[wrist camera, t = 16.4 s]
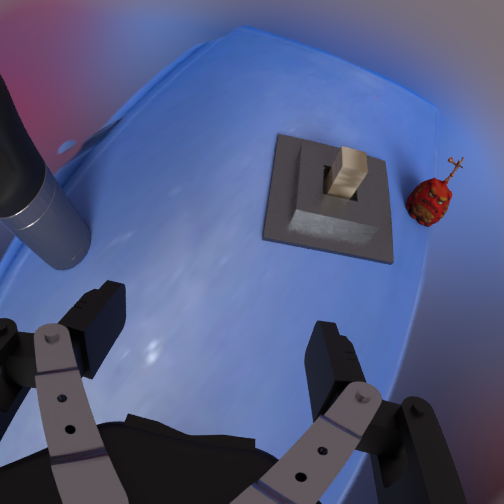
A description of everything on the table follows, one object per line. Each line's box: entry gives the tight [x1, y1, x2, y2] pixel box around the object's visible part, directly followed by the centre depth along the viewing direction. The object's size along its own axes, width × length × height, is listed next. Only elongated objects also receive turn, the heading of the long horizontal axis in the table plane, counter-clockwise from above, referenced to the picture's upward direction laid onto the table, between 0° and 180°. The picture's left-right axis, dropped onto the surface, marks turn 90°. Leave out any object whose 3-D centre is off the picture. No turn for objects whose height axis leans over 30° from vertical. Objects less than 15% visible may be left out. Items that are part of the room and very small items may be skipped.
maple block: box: [324, 146, 368, 200], centre depth 48 cm, size 4×4×10 cm
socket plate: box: [263, 134, 394, 265], centre depth 51 cm, size 22×22×4 cm
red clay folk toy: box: [406, 157, 464, 227], centre depth 48 cm, size 8×7×15 cm
